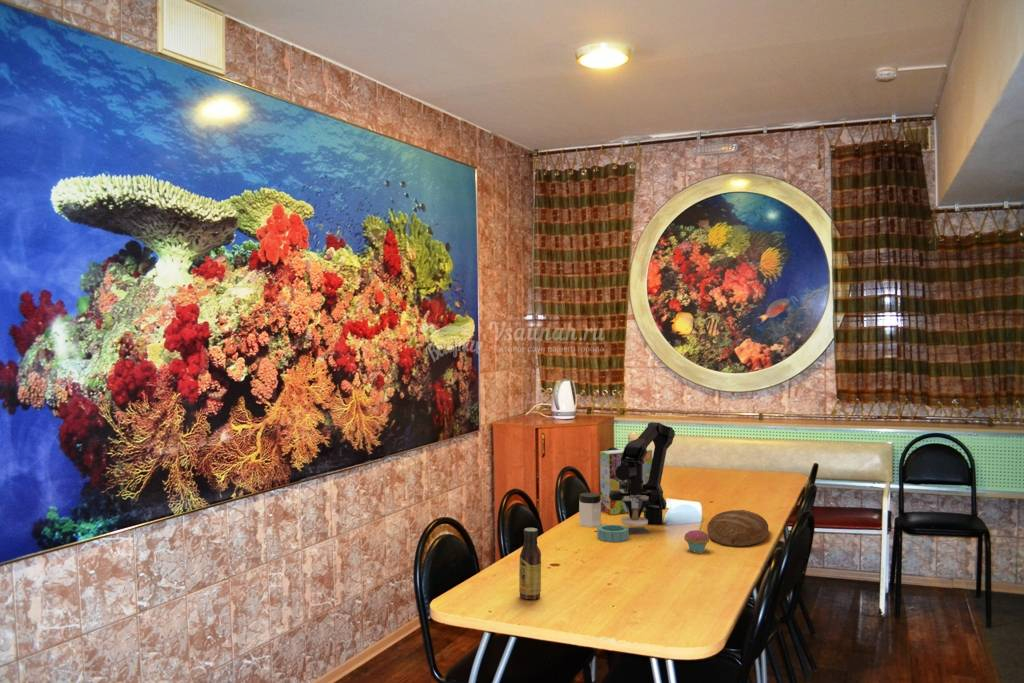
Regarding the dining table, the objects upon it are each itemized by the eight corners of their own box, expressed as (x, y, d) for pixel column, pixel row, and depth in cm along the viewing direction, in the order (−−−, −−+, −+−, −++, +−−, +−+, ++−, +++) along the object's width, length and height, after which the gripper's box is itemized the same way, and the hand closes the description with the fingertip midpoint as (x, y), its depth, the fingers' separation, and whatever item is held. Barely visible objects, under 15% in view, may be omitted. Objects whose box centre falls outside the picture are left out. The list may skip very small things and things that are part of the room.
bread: (771, 527, 332) (772, 505, 332) (764, 551, 298) (765, 527, 297) (714, 522, 340) (714, 501, 340) (700, 545, 305) (701, 521, 305)
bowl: (623, 534, 318) (623, 524, 318) (631, 542, 307) (631, 531, 307) (594, 535, 317) (594, 525, 316) (601, 543, 305) (601, 532, 305)
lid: (643, 519, 328) (643, 505, 328) (651, 525, 319) (651, 511, 318) (618, 520, 327) (618, 506, 327) (625, 526, 317) (625, 512, 317)
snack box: (642, 506, 368) (642, 447, 367) (653, 510, 360) (654, 449, 359) (598, 511, 358) (599, 450, 358) (610, 515, 350) (610, 453, 350)
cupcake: (710, 549, 299) (710, 514, 298) (707, 555, 291) (708, 520, 290) (685, 546, 302) (686, 513, 301) (682, 552, 294) (682, 518, 293)
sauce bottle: (518, 594, 248) (518, 526, 248) (539, 593, 249) (539, 525, 248) (520, 601, 242) (520, 531, 241) (542, 601, 242) (542, 531, 242)
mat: (643, 528, 329) (643, 527, 329) (651, 534, 319) (651, 533, 319) (618, 528, 327) (618, 527, 327) (625, 535, 317) (625, 534, 317)
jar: (587, 528, 327) (587, 497, 327) (574, 524, 334) (574, 494, 334) (605, 525, 332) (605, 495, 332) (592, 521, 339) (592, 491, 339)
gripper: (652, 472, 332) (652, 512, 332) (605, 473, 329) (605, 513, 330) (661, 477, 321) (660, 519, 321) (612, 478, 318) (612, 520, 319)
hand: (634, 517), depth 323 cm, fingers closed on lid, 3 cm apart
